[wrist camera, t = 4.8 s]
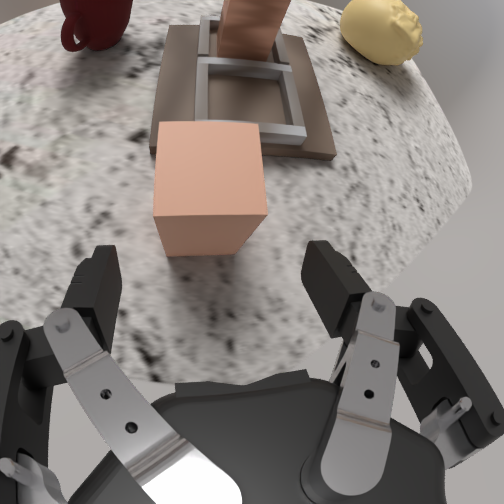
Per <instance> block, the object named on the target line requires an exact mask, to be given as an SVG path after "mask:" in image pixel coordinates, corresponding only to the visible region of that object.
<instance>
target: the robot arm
mask: <svg viewBox="0 0 504 504" xmlns="http://www.w3.org/2000/svg"><path fill="white" fill-rule="evenodd" d="M301 280H302V283H303V285H304V287H305V289H306V291H307V293H308V295H309V297H310V299H311V301H312V302H313V304H314V306H315V308H316V310H317V312H318V314H319V316H320V318H321V320H322V322H323V324H324V326H325V328H326V329H327V331H328V333H329V335H330V337H331V338H337V337H342V338H343V342H342V344H341V346H340V350H339V353H338V356H337V359H336V362H335V365H334V368H333V371H332V374H331V377H330V380H329V382H328V381H325V380H321V379H315V378H309V375H308V373H307V370H306V369H304V370H298V371H292V372H286V373H279V374H275V375H272V376H270V377H267V378H265V379H262V380H259V381H257V382H254V383H251V384H248V385H233V384H225V383H217V382H210V381H206V382H189V383H175V390H176V392H175V393H172V394H168V395H166V396H164V397H161V398H159V399H158V400H156V401H154V402H153V403H151V404H149V403H148V402H147V400H146V399H145V398H144V397H143V396H142V395H141V393H140V392H139V391H138V390H137V389H136V387H135V386H134V385H133V384H132V383H131V381H130V380H129V379H128V378H127V376H126V375H125V374H124V373H123V371H122V370H121V369H120V367H119V366H118V365H117V364H116V362H115V361H114V360H113V358H112V357H111V356H110V354H111V349H112V342H113V336H114V329H115V323H116V318H117V312H118V307H119V302H120V296H121V291H122V278H121V273H120V267H119V262H118V257H117V251H116V247H115V245H99V246H96V248H95V250H94V253H93V255H92V258H85V259H84V260H83V261H82V262H81V263H80V264H79V265H78V266H77V269H76V271H75V273H74V277H73V278H72V280H71V284H70V285H69V288H68V290H67V293H66V295H65V298H64V300H63V303H62V306H61V308H60V309H58V310H55V311H54V312H52V313H51V314H50V315H49V316H48V317H47V318H46V320H45V322H44V325H43V326H41V327H37V328H33V329H29V330H24V328H23V326H22V325H21V324H20V323H19V322H18V321H14V320H10V321H7V322H4V323H2V324H1V325H0V504H447V503H446V497H445V482H444V480H445V470H446V469H450V468H453V467H455V466H456V465H458V464H459V463H462V462H463V461H465V460H467V459H468V458H470V457H471V456H473V455H474V454H476V453H477V452H479V451H480V450H482V449H484V448H485V447H486V446H488V445H489V444H491V443H492V442H494V441H495V440H496V439H498V438H499V437H500V436H502V435H503V434H504V409H503V407H502V405H501V403H500V401H499V399H498V398H497V396H496V394H495V392H494V391H493V389H492V387H491V386H490V384H489V382H488V381H487V379H486V377H485V376H484V374H483V372H482V371H481V369H480V368H479V366H478V365H477V363H476V361H475V360H474V359H473V357H472V355H471V354H470V352H469V351H468V349H467V348H466V346H465V345H464V343H463V342H462V341H461V339H460V338H459V336H458V335H457V334H456V332H455V331H454V329H453V328H452V326H450V324H449V322H448V321H447V320H446V318H445V317H444V316H443V314H442V313H441V312H440V310H439V309H438V308H437V306H436V305H435V304H433V303H432V302H431V301H429V300H427V299H424V298H416V299H414V300H413V301H412V303H411V305H410V307H401V306H395V304H394V302H393V301H392V300H391V299H390V298H389V297H388V296H386V295H385V294H382V293H380V292H374V291H372V290H371V289H370V288H369V286H368V285H367V284H366V282H365V281H364V280H363V278H362V277H361V276H360V274H359V273H357V270H356V269H355V268H354V267H352V264H351V263H350V261H349V260H348V259H347V258H346V257H345V256H343V255H342V254H341V253H339V252H338V251H335V250H334V249H333V247H332V246H331V245H330V243H329V242H328V241H326V240H320V241H309V243H308V245H307V249H306V253H305V257H304V261H303V265H302V270H301ZM423 343H424V344H425V346H426V348H427V349H428V351H429V352H430V354H431V356H432V359H433V365H432V367H431V369H429V367H428V366H427V364H426V362H425V361H424V359H423V357H422V356H421V354H420V352H419V351H418V350H419V348H420V347H421V345H422V344H423ZM397 376H398V379H399V381H400V383H401V385H402V387H403V388H404V391H405V393H406V394H407V397H408V399H409V401H410V403H411V405H412V407H413V409H414V411H415V413H416V415H417V417H418V419H419V422H420V424H421V425H420V434H418V433H417V432H415V431H413V430H412V429H410V428H408V427H406V426H404V425H403V424H401V423H399V422H397V421H396V420H394V419H392V418H391V411H392V405H393V399H394V392H395V384H396V377H397ZM67 382H68V384H69V386H70V388H71V389H72V391H73V393H74V395H75V396H76V398H77V400H78V401H79V403H80V405H81V406H82V408H83V409H84V411H85V413H86V414H87V416H88V417H89V419H90V420H91V422H92V423H93V425H94V426H95V428H96V429H97V431H98V432H99V433H100V435H101V436H102V438H103V439H104V440H105V442H106V443H107V444H108V446H109V447H110V448H111V450H110V451H109V452H108V453H107V455H106V456H105V457H104V458H103V459H102V461H101V462H100V463H99V464H98V465H97V467H96V468H95V469H94V470H93V471H92V473H91V474H90V475H89V476H88V477H87V478H86V480H85V481H84V482H83V483H82V484H81V486H80V487H79V488H78V489H77V490H76V491H75V493H74V494H73V495H72V496H71V498H70V499H69V501H68V502H67V501H66V500H65V498H64V497H63V495H62V492H61V488H60V484H59V481H58V479H57V477H56V475H55V474H54V473H53V472H52V471H51V470H49V469H48V440H49V423H50V412H51V403H52V395H53V387H54V385H59V384H63V383H67Z"/></svg>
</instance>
